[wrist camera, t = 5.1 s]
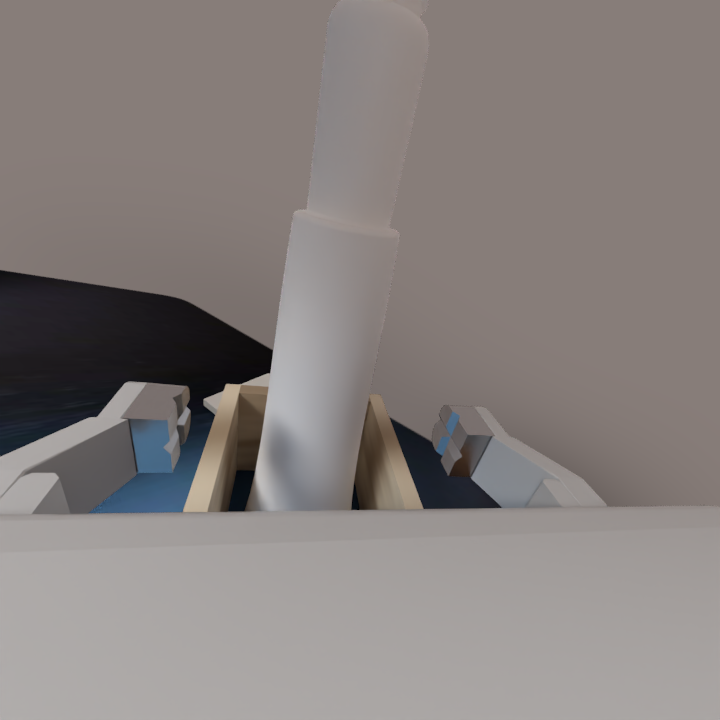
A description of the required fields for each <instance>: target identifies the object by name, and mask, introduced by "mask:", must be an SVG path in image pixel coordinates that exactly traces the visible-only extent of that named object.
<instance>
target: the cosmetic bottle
mask: <svg viewBox="0 0 720 720" xmlns="http://www.w3.org/2000/svg"><path fill="white" fill-rule="evenodd" d="M428 2H429V0H341V1H339V2H338V3H337V4H336V5H335V6H334V8H333V10H332V12H331V14H330V17H329V20H328V25H327V33H326V42H325V51H324V59H323V68H322V78H321V86H320V95H319V105H318V113H317V122H316V131H315V140H314V149H313V158H312V167H311V176H310V185H309V194H308V202H307V209H306V210H297V211H295V212H294V214H293V219H292V225H291V231H290V238H289V244H288V251H287V257H286V264H285V271H284V277H283V284H282V291H281V298H280V305H279V313H278V319H277V328H276V335H275V342H274V350H273V357H272V365H271V372H270V380H269V388H268V395H267V402H266V409H265V416H264V423H263V430H262V436H261V442H260V448H259V454H258V459H257V464H256V469H255V474H254V478H253V483H252V487H251V491H250V495H249V498H248V501H247V505H246V508H245V511H317V510H351V508H352V495H353V487H354V479H355V472H356V465H357V459H358V453H359V447H360V441H361V436H362V431H363V425H364V420H365V415H366V410H367V405H368V400H369V395H370V389H371V385H372V380H373V375H374V370H375V365H376V360H377V355H378V350H379V345H380V340H381V335H382V329H383V324H384V320H385V314H386V309H387V304H388V299H389V294H390V288H391V282H392V277H393V271H394V266H395V260H396V255H397V248H398V243H399V233H398V232H397V231H396V230H394V229H392V228H390V222H391V217H392V212H393V208H394V204H395V199H396V195H397V190H398V186H399V181H400V177H401V172H402V168H403V163H404V159H405V154H406V150H407V145H408V141H409V136H410V132H411V127H412V122H413V119H414V114H415V109H416V105H417V100H418V96H419V91H420V87H421V82H422V78H423V73H424V69H425V64H426V60H427V55H428V49H429V37H428V32H427V29H426V27H425V25H424V23H423V22H422V21H421V20H420V17H421V14H423V13H424V12H425V10H426V9H427V6H428Z"/></svg>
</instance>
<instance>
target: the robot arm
mask: <svg viewBox="0 0 720 720" xmlns="http://www.w3.org/2000/svg"><path fill="white" fill-rule="evenodd" d="M189 399H190V395H189V388H188V387H187V386H178V385H167V384H156V383H144V382H127V383H125V384H124V385H123V386H122V387H121V389H120V390H119V391H118V392H117V393H116V395H115V396H114V397H113V398H112V400H111V401H110V402H109V403H108V404H107V406H106V407H105V408H104V409H103V410H102V412H101V413H100V414H99V415H98V416H97V418H96V417H90V418H87V419H85V420H83V421H80V422H78V423H76V424H74V425H71V426H69V427H67V428H65V429H62V430H60V431H58V432H55V433H53V434H51V435H49V436H46V437H44V438H42V439H40V440H37V441H35V442H33V443H30V444H28V445H26V446H24V447H21V448H19V449H17V450H15V451H12V452H10V453H8V454H6V455H3V456H1V457H0V720H720V507H719V506H711V505H696V506H630V507H629V506H626V507H625V506H624V507H623V506H622V507H608V506H607V505H606V504H605V502H604V501H603V500H602V499H601V498H600V497H599V496H598V495H597V494H596V493H595V492H594V490H593V489H592V488H591V487H590V486H589V485H588V484H587V483H586V482H585V481H584V480H583V479H582V478H580V477H579V476H577V475H576V474H574V473H572V472H571V471H569V470H567V469H566V468H564V467H562V466H561V465H559V464H557V463H556V462H554V461H552V460H551V459H549V458H547V457H546V456H544V455H542V454H541V453H539V452H537V451H536V450H534V449H532V448H531V447H529V446H527V445H526V444H524V443H522V442H521V441H519V440H517V439H516V438H514V437H510V436H509V435H508V434H507V433H506V431H505V430H504V429H503V428H502V427H501V425H500V424H499V423H498V422H497V420H496V419H495V418H494V417H493V415H492V414H491V413H490V412H489V410H488V409H487V408H485V407H480V406H479V407H478V406H470V407H469V406H453V405H444V406H443V407H442V408H441V410H440V413H439V416H440V418H441V420H440V421H438V422H437V423H436V424H435V426H434V428H433V432H432V442H433V446H434V448H435V450H436V451H437V452H438V453H439V454H440V455H442V459H441V462H442V464H443V466H444V468H445V470H446V472H447V474H448V476H455V477H471V479H472V480H473V481H474V482H476V483H477V484H478V485H479V486H480V487H481V488H482V489H483V490H484V491H485V492H486V493H487V494H488V495H489V496H491V497H492V498H493V499H494V500H495V501H496V502H497V503H498V504H499V505H500V506H501V507H502V508H480V509H388V510H317V511H242V512H166V513H90V514H88V513H89V512H90V511H91V510H93V509H94V508H95V507H96V506H98V505H99V504H100V503H102V502H103V501H104V500H105V499H107V498H108V497H109V496H110V495H112V494H113V493H114V492H115V491H117V490H118V489H119V488H121V487H122V486H123V485H124V484H126V483H127V482H128V481H129V480H131V479H132V478H133V477H134V476H136V475H137V473H169V472H173V470H174V467H175V465H176V463H177V460H178V458H179V456H180V446H181V445H182V444H184V443H185V441H186V439H187V436H188V433H189V428H190V420H191V413H190V410H189V409H188V408H187V407H186V406H187V404H188V401H189Z"/></svg>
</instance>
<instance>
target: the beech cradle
mask: <svg viewBox="0 0 720 720" xmlns="http://www.w3.org/2000/svg"><path fill="white" fill-rule="evenodd" d="M268 388H269V387H264V386H250V385H236V384H226V386H225V389H224V392H223V395H222V398H221V401H220V404H219V407H218V409H217V412H216V415H215V418H214V421H213V424H212V427H211V430H210V433H209V436H208V439H207V442H206V445H205V448H204V451H203V454H202V457H201V460H200V463H199V466H198V469H197V471H196V474H195V477H194V480H193V483H192V486H191V489H190V492H189V495H188V498H187V501H186V504H185V507H184V510H183V512H228V510H229V505H230V500H231V495H232V490H233V486H234V481H235V476H236V471H237V470H254V471H255V469H256V464H257V459H258V454H259V448H260V442H261V436H262V430H263V423H264V416H265V409H266V402H267V395H268ZM354 481H355V486H356V492H357V497H358V502H359V508H360V510H388V509H423V506H422V503H421V501H420V498H419V495H418V493H417V490H416V487H415V485H414V482H413V479H412V477H411V474H410V471H409V469H408V466H407V464H406V461H405V458H404V456H403V453H402V450H401V448H400V445H399V442H398V440H397V437H396V434H395V432H394V429H393V426H392V424H391V421H390V418H389V416H388V413H387V410H386V408H385V405H384V402H383V400H382V397H381V395H379V394H370V395H369V400H368V405H367V410H366V415H365V420H364V425H363V431H362V436H361V441H360V447H359V453H358V459H357V465H356V472H355V479H354Z"/></svg>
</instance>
